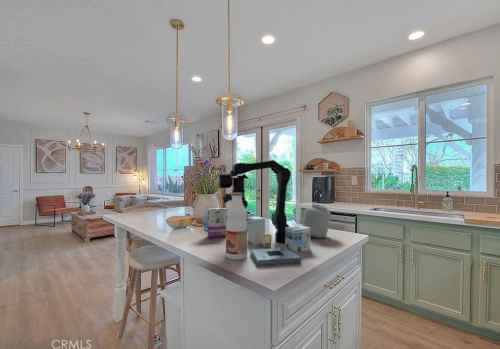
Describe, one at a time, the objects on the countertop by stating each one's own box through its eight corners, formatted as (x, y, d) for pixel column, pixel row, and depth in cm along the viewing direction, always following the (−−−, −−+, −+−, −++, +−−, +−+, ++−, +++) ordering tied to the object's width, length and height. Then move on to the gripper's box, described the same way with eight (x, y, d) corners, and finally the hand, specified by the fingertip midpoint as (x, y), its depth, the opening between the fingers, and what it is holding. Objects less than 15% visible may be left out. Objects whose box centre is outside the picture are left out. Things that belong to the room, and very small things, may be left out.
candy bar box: (226, 235, 142) (226, 207, 142) (227, 237, 137) (227, 208, 137) (207, 236, 139) (207, 208, 139) (207, 238, 134) (208, 209, 135)
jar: (334, 235, 144) (334, 193, 144) (335, 241, 130) (335, 195, 130) (302, 232, 149) (302, 192, 149) (300, 238, 135) (300, 194, 135)
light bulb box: (293, 253, 109) (293, 229, 109) (284, 249, 115) (284, 226, 115) (311, 249, 114) (311, 227, 114) (301, 246, 120) (301, 224, 120)
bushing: (269, 248, 116) (269, 233, 117) (272, 251, 112) (272, 236, 112) (261, 248, 116) (261, 234, 116) (263, 251, 111) (263, 236, 111)
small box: (265, 243, 125) (265, 218, 125) (254, 244, 122) (254, 219, 122) (258, 239, 132) (258, 216, 132) (247, 240, 130) (247, 216, 130)
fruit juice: (248, 260, 100) (248, 193, 100) (225, 260, 99) (226, 193, 99) (246, 252, 109) (246, 192, 109) (225, 253, 108) (226, 192, 108)
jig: (288, 252, 110) (288, 247, 110) (300, 263, 96) (301, 257, 96) (250, 254, 106) (250, 249, 106) (257, 266, 93) (257, 260, 93)
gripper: (221, 187, 129) (222, 215, 129) (224, 189, 110) (224, 222, 110) (242, 186, 130) (242, 215, 130) (247, 188, 112) (248, 221, 112)
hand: (239, 218), depth 121 cm, fingers open, 9 cm apart
